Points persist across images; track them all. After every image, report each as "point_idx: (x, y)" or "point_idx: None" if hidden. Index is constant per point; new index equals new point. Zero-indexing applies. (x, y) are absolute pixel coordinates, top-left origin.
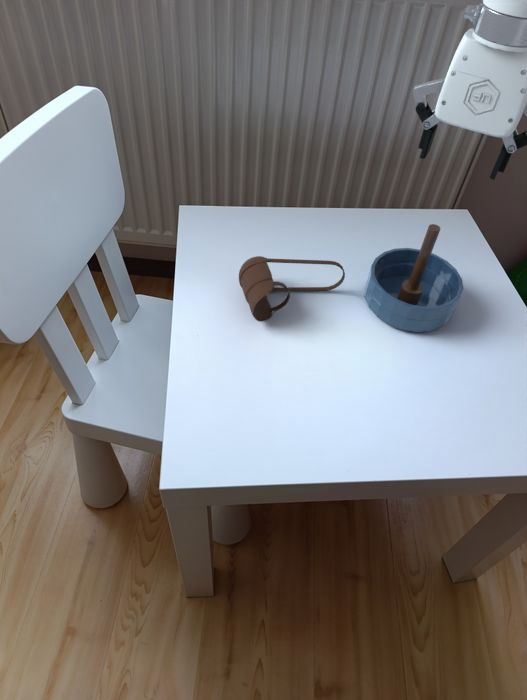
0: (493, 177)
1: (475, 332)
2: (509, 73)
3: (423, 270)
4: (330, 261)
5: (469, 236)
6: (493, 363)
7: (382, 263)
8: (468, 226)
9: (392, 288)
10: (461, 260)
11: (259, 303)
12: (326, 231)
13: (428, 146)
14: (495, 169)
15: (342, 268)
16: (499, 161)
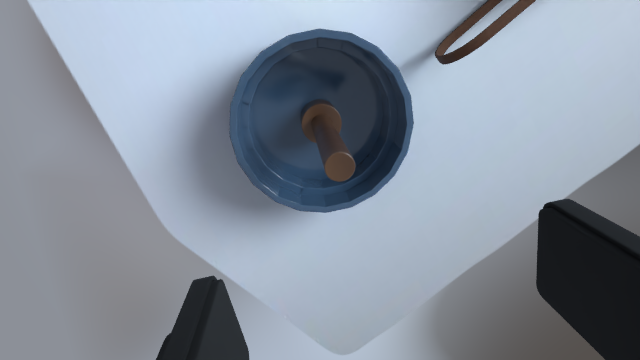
0: (199, 282)
1: (193, 132)
2: None
3: (315, 130)
4: (487, 38)
5: (314, 325)
6: (131, 84)
7: (396, 139)
8: (326, 343)
9: (353, 123)
10: (297, 269)
11: None
12: (513, 181)
13: (593, 240)
14: (194, 310)
15: (455, 53)
16: (176, 350)
